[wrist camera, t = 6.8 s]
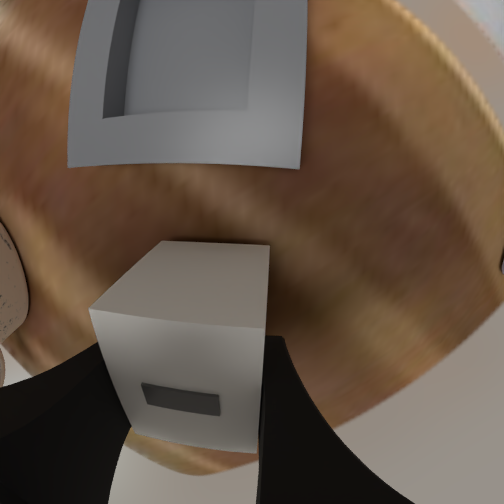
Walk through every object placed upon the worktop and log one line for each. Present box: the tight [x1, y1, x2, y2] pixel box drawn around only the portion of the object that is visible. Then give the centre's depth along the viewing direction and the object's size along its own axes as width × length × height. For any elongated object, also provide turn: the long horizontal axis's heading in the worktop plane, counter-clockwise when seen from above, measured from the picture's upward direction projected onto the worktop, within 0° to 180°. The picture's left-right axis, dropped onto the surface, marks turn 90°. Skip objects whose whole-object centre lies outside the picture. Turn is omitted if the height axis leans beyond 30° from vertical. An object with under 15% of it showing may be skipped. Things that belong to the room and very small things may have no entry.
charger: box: [88, 241, 270, 453], centre depth 9 cm, size 4×5×5 cm
